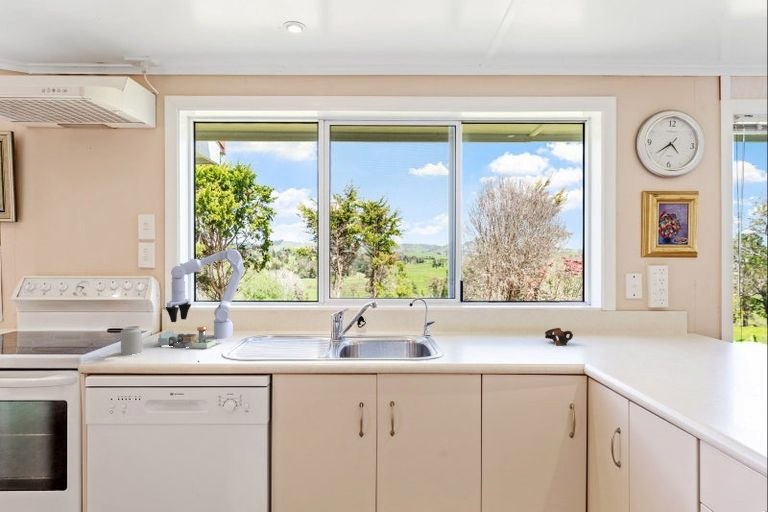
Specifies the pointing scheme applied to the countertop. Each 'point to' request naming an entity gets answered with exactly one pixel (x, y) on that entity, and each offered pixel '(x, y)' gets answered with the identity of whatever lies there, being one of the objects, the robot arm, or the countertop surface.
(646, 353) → the countertop surface
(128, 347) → the can
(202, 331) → the pin
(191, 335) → the wooden cube
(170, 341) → the trolley
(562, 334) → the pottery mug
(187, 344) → the ramp board
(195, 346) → the tray
